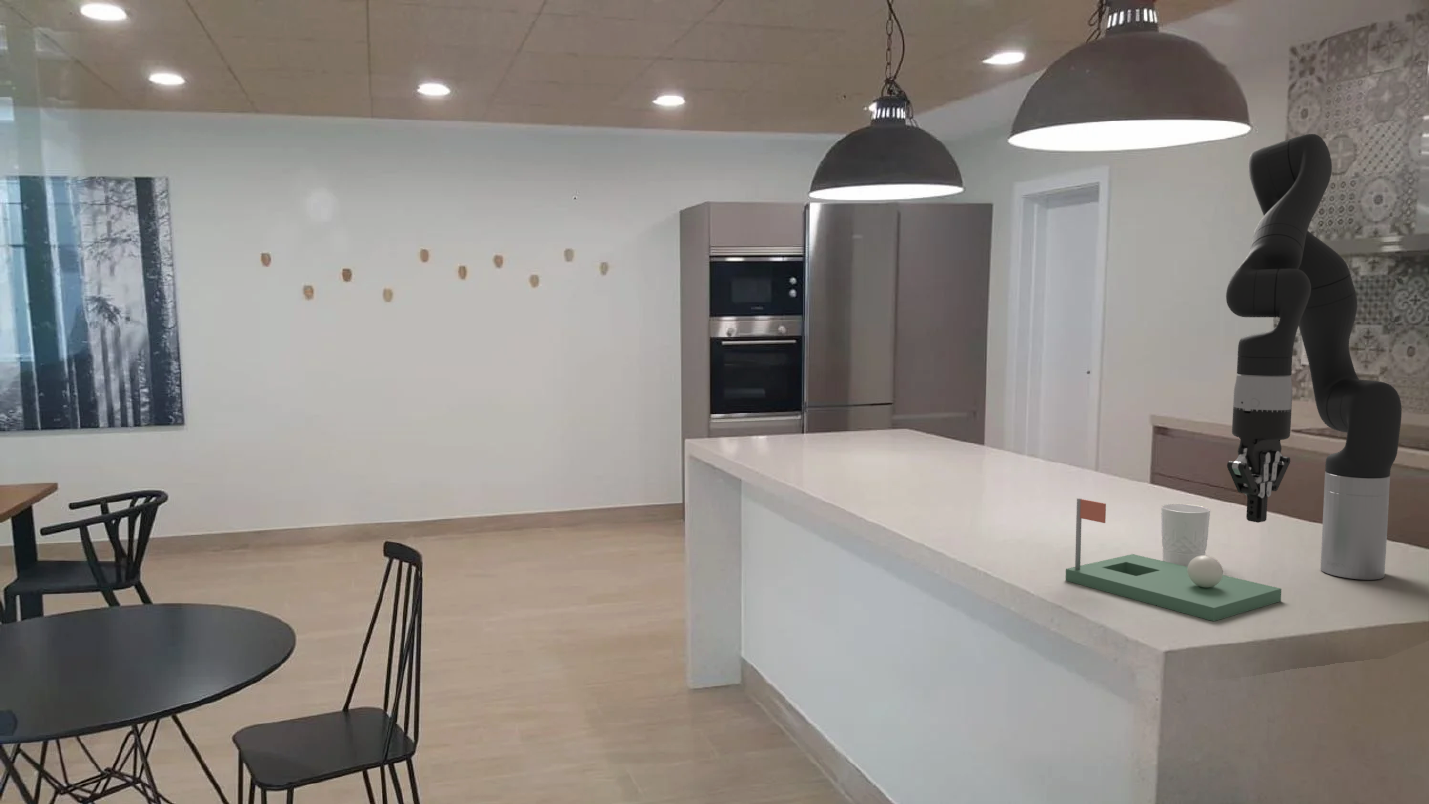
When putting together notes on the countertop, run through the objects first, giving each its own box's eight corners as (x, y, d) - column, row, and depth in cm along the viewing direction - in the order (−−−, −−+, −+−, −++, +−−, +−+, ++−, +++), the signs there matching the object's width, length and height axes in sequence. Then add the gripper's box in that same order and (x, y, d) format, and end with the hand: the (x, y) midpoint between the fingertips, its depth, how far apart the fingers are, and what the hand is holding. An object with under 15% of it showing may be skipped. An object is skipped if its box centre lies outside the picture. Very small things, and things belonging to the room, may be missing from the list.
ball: (1198, 580, 156) (1200, 550, 155) (1229, 588, 151) (1230, 556, 151) (1180, 585, 153) (1181, 554, 153) (1210, 593, 149) (1211, 561, 148)
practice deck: (1132, 565, 173) (1134, 487, 172) (1280, 601, 151) (1284, 512, 150) (1065, 580, 164) (1067, 498, 163) (1213, 621, 142) (1217, 527, 140)
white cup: (1166, 555, 180) (1168, 502, 179) (1212, 561, 175) (1214, 507, 174) (1154, 563, 174) (1155, 508, 173) (1201, 571, 169) (1204, 514, 168)
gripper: (1262, 401, 150) (1256, 512, 151) (1211, 405, 143) (1205, 521, 144) (1312, 405, 143) (1306, 521, 145) (1262, 410, 136) (1255, 531, 138)
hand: (1256, 521), depth 145 cm, fingers closed
